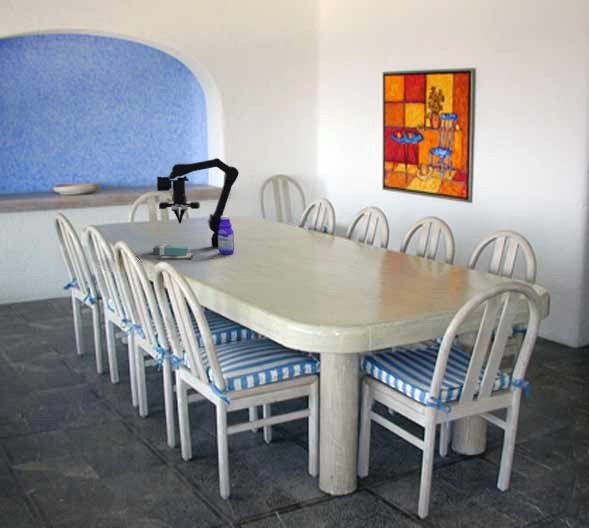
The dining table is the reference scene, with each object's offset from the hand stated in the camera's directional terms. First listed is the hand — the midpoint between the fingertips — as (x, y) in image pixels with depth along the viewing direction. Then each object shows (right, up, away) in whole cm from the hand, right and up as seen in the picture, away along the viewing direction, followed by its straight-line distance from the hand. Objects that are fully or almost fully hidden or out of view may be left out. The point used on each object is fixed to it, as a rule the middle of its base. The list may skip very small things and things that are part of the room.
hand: (180, 223), depth 367 cm
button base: (-7, -14, -9) cm, 18 cm away
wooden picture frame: (+1, -16, -19) cm, 25 cm away
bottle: (+23, -15, -11) cm, 30 cm away
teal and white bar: (+1, -15, -19) cm, 25 cm away
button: (-7, -13, -9) cm, 18 cm away
